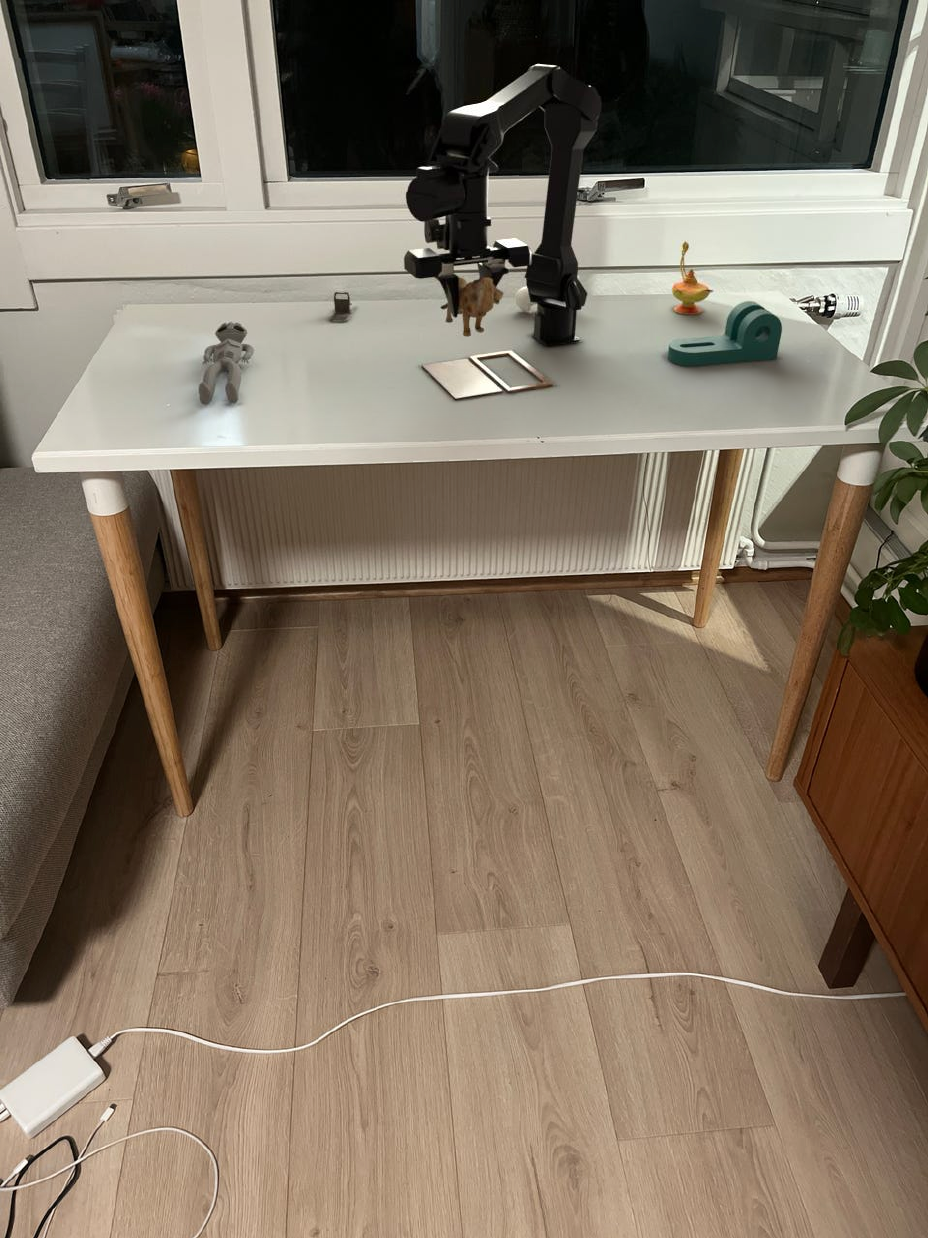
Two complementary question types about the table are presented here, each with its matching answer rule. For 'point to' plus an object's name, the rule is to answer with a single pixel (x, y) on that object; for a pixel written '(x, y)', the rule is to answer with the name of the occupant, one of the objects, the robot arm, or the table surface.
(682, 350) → the bracket
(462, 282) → the lion figurine
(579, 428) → the table surface
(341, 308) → the strap clip
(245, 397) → the table surface
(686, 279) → the magic lamp
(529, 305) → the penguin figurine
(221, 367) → the alien figure
